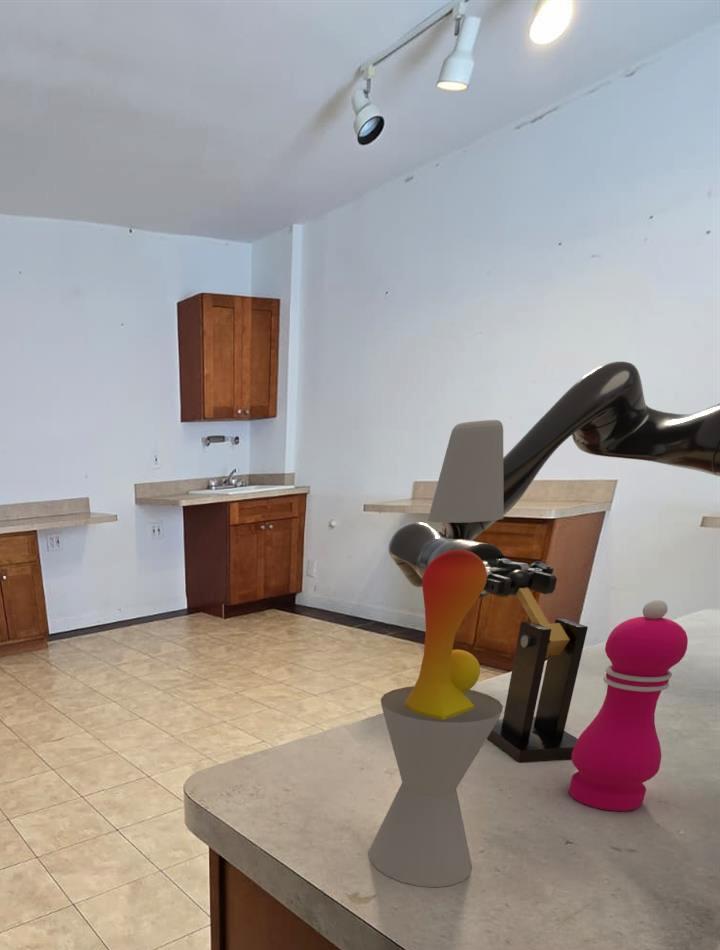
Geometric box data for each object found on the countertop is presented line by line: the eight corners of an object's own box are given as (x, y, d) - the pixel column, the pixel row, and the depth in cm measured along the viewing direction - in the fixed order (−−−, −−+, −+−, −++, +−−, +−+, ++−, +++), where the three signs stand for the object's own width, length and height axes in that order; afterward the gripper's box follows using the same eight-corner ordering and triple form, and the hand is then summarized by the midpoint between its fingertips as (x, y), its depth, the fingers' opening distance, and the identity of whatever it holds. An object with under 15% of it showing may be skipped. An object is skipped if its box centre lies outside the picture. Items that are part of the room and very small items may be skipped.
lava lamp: (430, 901, 52) (503, 415, 37) (345, 854, 59) (378, 429, 44) (496, 863, 56) (585, 412, 41) (408, 823, 63) (458, 426, 49)
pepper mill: (658, 818, 61) (724, 608, 53) (571, 809, 64) (621, 607, 55) (635, 785, 67) (691, 592, 59) (556, 778, 70) (599, 592, 61)
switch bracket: (476, 731, 83) (495, 617, 77) (538, 727, 83) (562, 612, 77) (518, 762, 74) (543, 636, 68) (587, 758, 74) (619, 631, 68)
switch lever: (494, 586, 81) (505, 565, 78) (520, 584, 81) (531, 563, 78) (534, 659, 74) (547, 638, 71) (562, 657, 73) (576, 636, 71)
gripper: (417, 544, 90) (474, 558, 75) (518, 537, 90) (597, 549, 75) (411, 597, 93) (465, 622, 78) (509, 591, 93) (583, 614, 78)
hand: (529, 586), depth 76 cm, fingers open, 4 cm apart
